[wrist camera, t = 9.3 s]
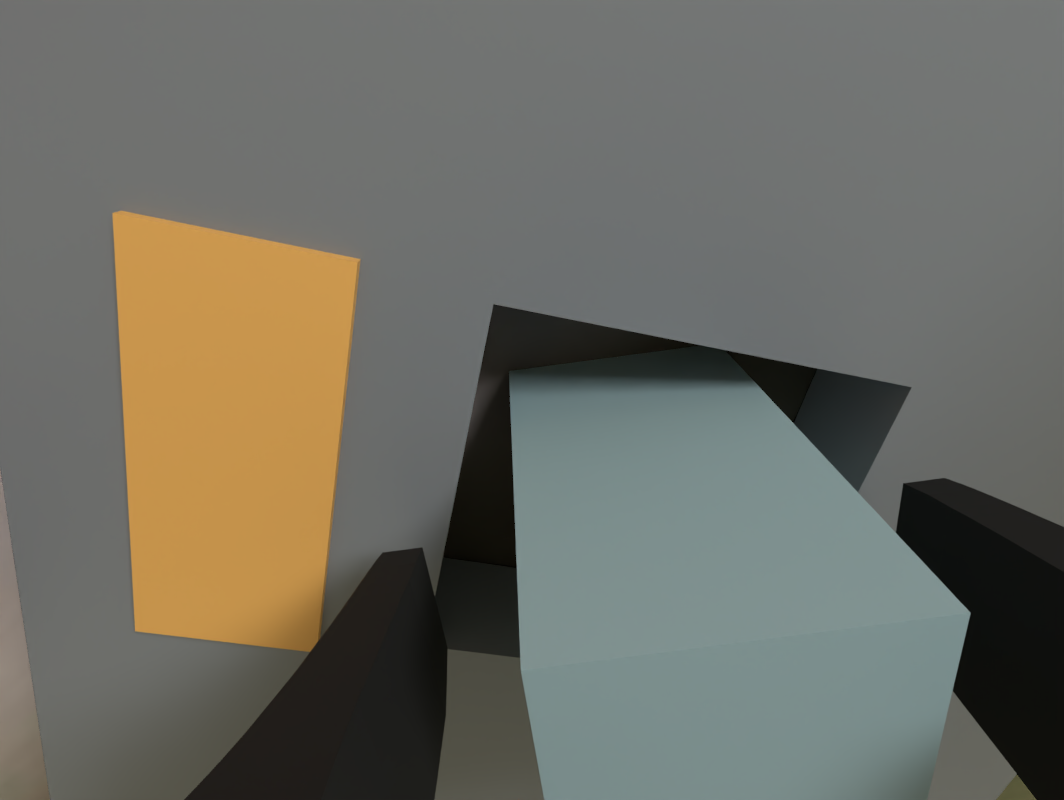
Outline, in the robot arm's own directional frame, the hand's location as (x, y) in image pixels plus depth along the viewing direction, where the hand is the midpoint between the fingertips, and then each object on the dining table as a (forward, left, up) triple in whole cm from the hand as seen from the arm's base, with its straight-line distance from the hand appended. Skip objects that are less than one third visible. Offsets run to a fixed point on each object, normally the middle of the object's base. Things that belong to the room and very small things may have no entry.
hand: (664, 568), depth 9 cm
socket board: (0, 0, -3) cm, 3 cm away
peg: (0, 0, -4) cm, 4 cm away
